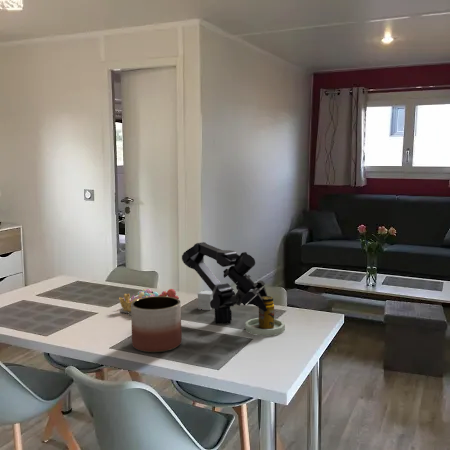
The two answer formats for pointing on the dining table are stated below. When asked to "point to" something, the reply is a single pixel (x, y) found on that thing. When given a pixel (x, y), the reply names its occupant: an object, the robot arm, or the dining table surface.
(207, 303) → the skincare box
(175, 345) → the planter
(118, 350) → the dining table surface
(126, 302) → the candy landscape model
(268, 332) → the round tray
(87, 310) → the dining table surface
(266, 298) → the condiment
